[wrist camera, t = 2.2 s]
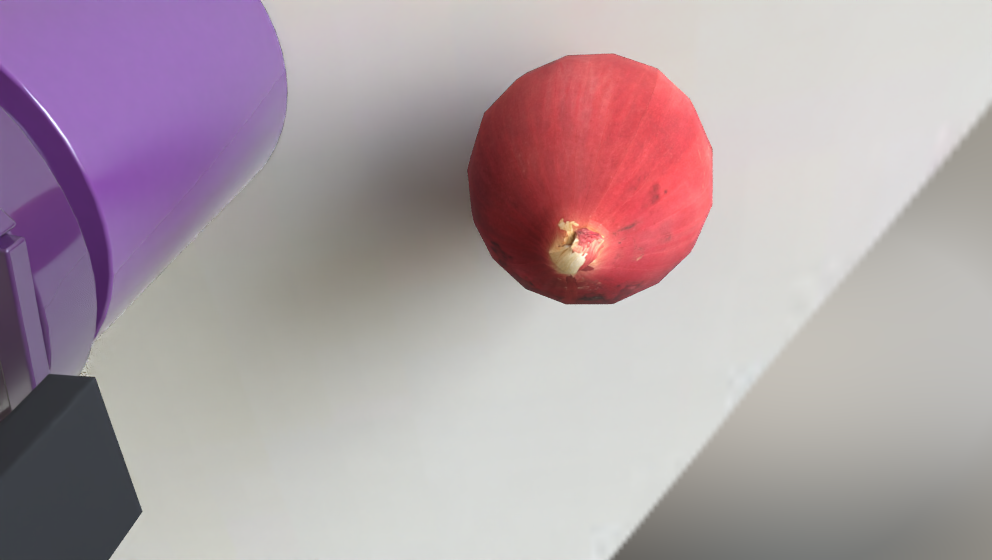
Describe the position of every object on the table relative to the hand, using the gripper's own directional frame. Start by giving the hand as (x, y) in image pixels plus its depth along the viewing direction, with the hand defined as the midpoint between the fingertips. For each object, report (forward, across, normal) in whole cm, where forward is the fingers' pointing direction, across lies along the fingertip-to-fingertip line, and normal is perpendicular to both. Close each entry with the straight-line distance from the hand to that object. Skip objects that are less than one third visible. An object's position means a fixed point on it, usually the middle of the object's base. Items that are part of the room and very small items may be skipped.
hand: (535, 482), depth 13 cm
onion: (+14, 0, 0) cm, 14 cm away
